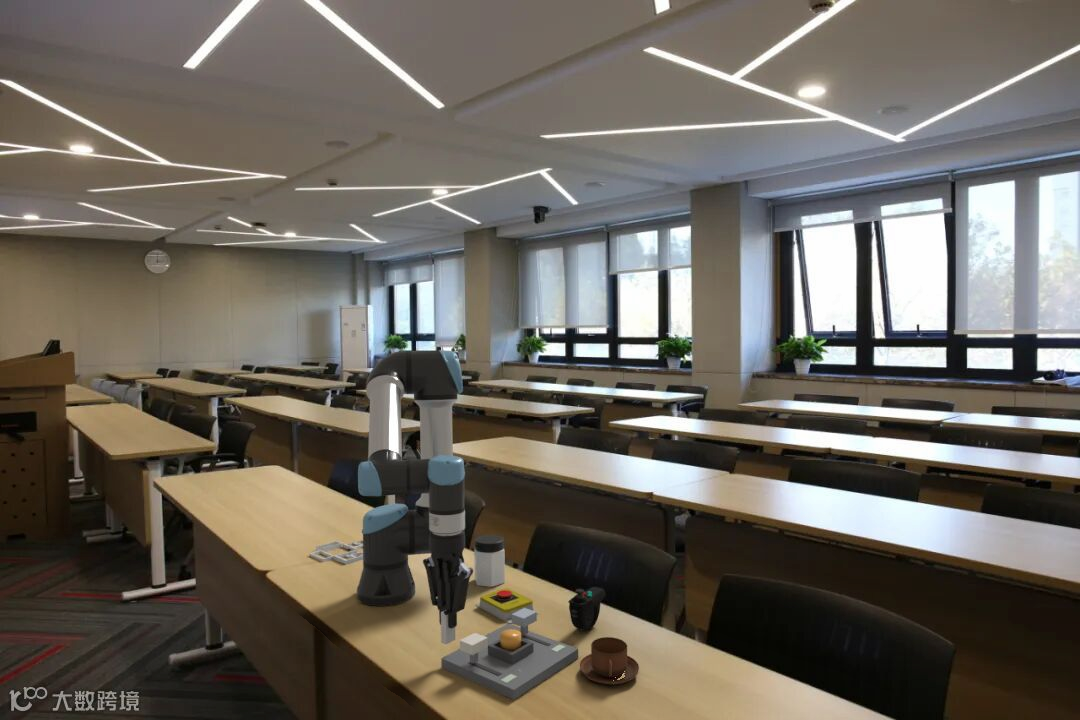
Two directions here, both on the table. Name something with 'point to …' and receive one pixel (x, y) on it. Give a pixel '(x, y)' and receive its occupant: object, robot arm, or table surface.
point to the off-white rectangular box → (473, 645)
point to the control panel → (512, 663)
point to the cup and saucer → (609, 662)
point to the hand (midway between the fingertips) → (448, 641)
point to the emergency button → (504, 603)
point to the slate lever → (524, 619)
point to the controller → (586, 607)
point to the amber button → (510, 639)
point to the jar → (489, 560)
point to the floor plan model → (339, 557)
